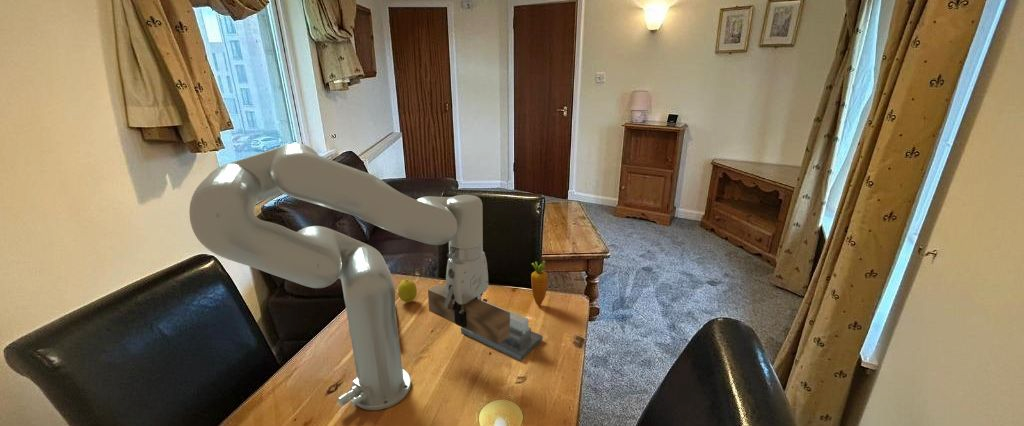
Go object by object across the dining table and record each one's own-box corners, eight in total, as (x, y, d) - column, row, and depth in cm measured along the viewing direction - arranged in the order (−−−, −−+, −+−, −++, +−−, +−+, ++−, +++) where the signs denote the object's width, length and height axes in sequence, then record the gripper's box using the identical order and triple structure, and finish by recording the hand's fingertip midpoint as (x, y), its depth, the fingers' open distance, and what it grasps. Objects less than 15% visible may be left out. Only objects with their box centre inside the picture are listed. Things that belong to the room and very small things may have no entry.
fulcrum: (520, 361, 100) (520, 333, 98) (461, 332, 111) (459, 307, 109) (542, 340, 108) (542, 314, 105) (484, 315, 119) (483, 291, 116)
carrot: (528, 308, 123) (529, 263, 118) (532, 300, 127) (533, 256, 122) (545, 311, 121) (546, 265, 116) (548, 302, 126) (549, 258, 121)
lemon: (421, 301, 127) (419, 278, 124) (408, 309, 123) (406, 285, 120) (408, 296, 130) (406, 273, 127) (395, 304, 125) (393, 281, 123)
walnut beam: (509, 335, 92) (510, 312, 90) (498, 344, 89) (499, 320, 87) (440, 304, 104) (439, 283, 102) (429, 311, 101) (427, 289, 99)
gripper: (451, 267, 82) (454, 344, 88) (501, 242, 95) (501, 311, 101) (426, 258, 86) (430, 331, 92) (477, 235, 99) (478, 301, 105)
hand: (467, 320), depth 96 cm, fingers closed on walnut beam, 4 cm apart
